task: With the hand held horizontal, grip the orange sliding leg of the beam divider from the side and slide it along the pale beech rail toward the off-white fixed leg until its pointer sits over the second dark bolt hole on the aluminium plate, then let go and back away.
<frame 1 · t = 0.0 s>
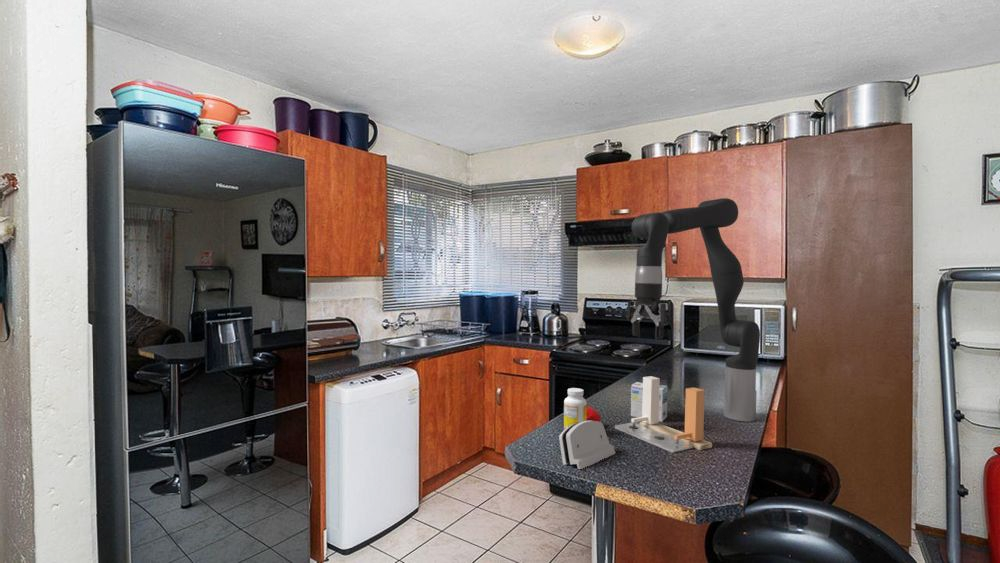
hand: (646, 337, 133), 29 cm above the countertop, tool pointing down, fingers open, 8 cm apart
cap: (588, 426, 143), on the countertop
sliding leg: (687, 415, 127), point 8 cm above the countertop, slide at 0.0 cm
light bulb box: (648, 417, 154), on the countertop
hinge: (585, 458, 118), on the countertop
rail: (673, 436, 135), on the countertop
fixed leg: (649, 427, 143), resting on bolt plate
bolt plate: (651, 437, 133), on the countertop
supplement bottle: (574, 433, 136), on the countertop
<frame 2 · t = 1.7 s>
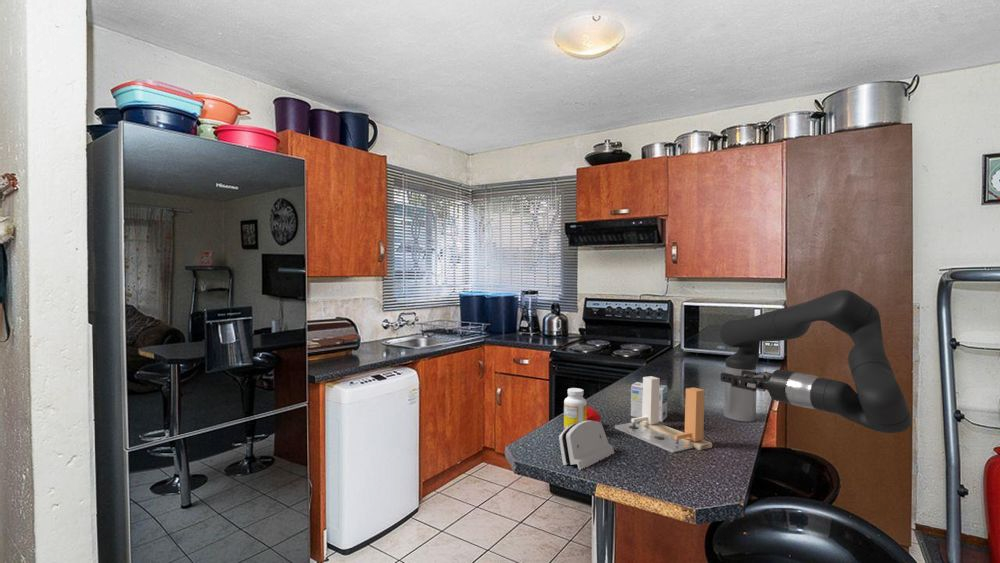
hand: (731, 375, 119), 22 cm above the countertop, tool horizontal, fingers open, 8 cm apart
nothing on the countertop moved.
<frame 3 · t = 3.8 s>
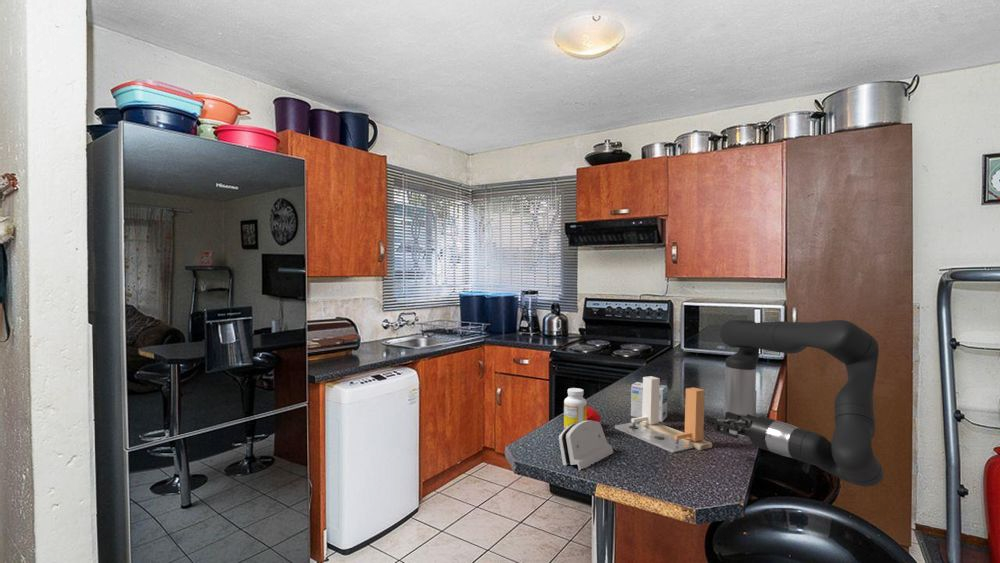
hand: (715, 417, 123), 9 cm above the countertop, tool horizontal, fingers open, 8 cm apart
nothing on the countertop moved.
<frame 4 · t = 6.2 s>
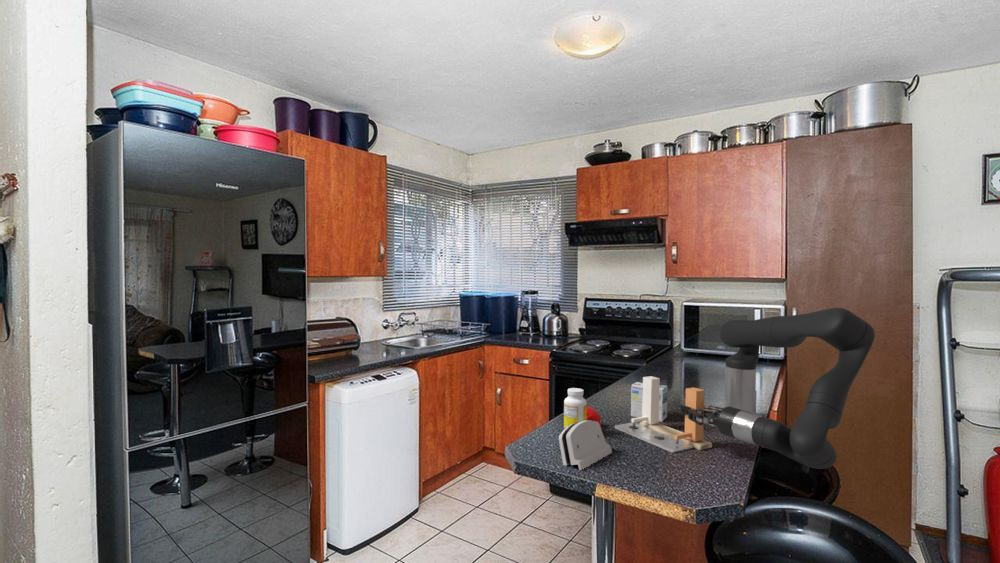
hand: (686, 407, 131), 9 cm above the countertop, tool horizontal, fingers closed on sliding leg, 3 cm apart
sliding leg: (687, 415, 127), point 8 cm above the countertop, slide at 0.0 cm, touching gripper
everything else where it was.
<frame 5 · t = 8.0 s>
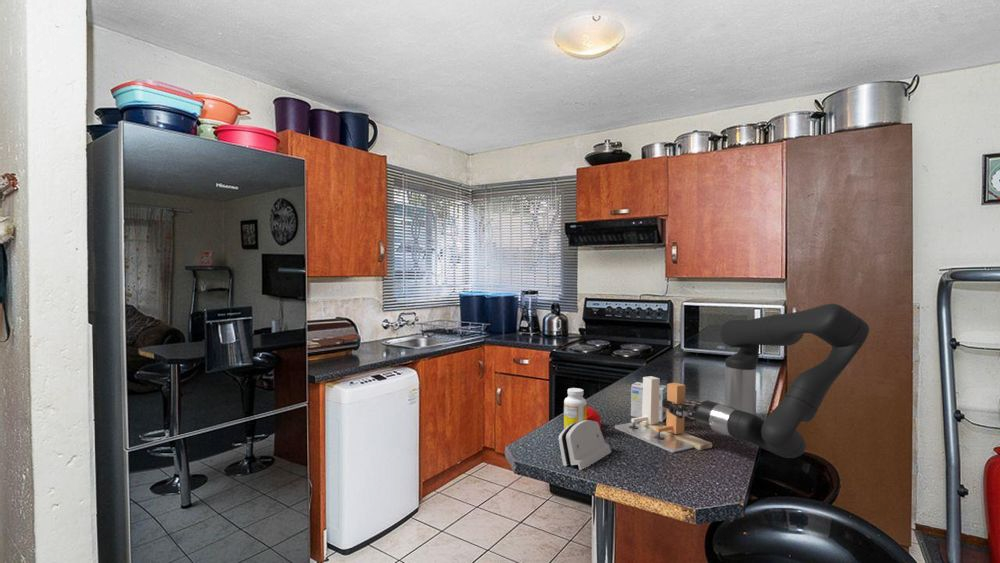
hand: (668, 402, 137), 9 cm above the countertop, tool horizontal, fingers closed on sliding leg, 3 cm apart
sliding leg: (668, 409, 133), point 8 cm above the countertop, slide at 6.5 cm, touching gripper
everything else where it was.
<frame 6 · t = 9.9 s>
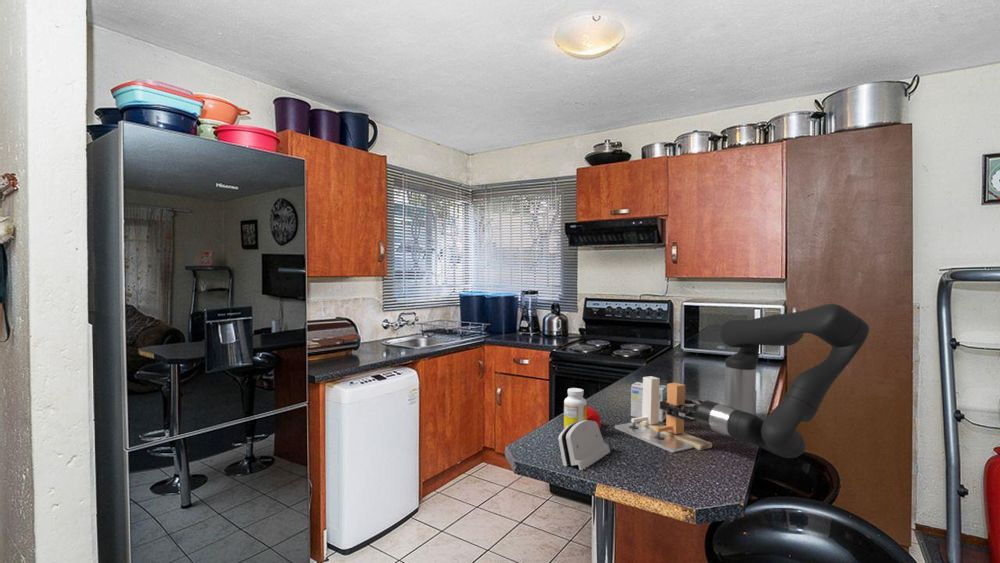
hand: (670, 403, 136), 10 cm above the countertop, tool horizontal, fingers open, 8 cm apart
sliding leg: (668, 409, 133), point 8 cm above the countertop, slide at 6.5 cm
everything else where it was.
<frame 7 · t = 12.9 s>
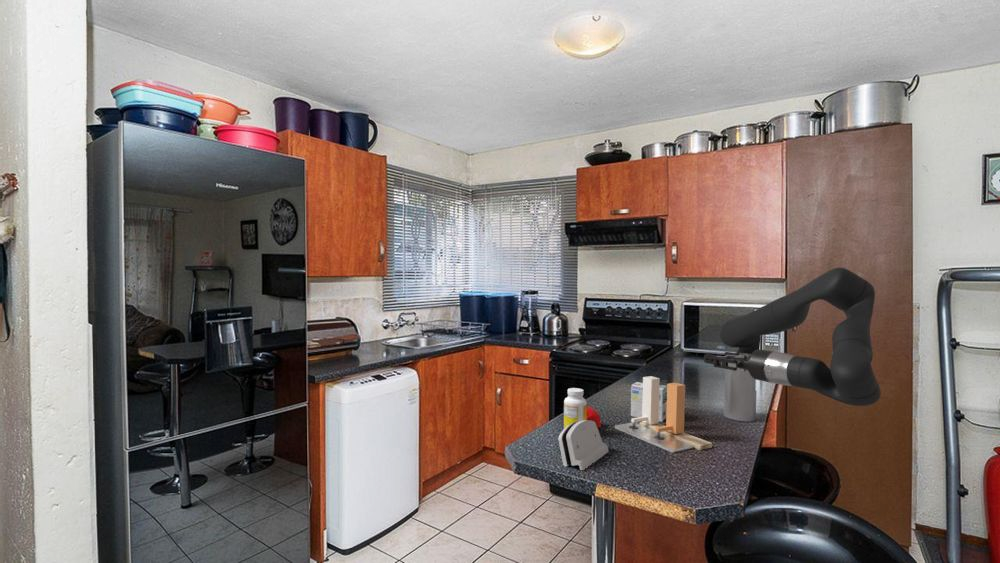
hand: (715, 356, 124), 26 cm above the countertop, tool horizontal, fingers open, 8 cm apart
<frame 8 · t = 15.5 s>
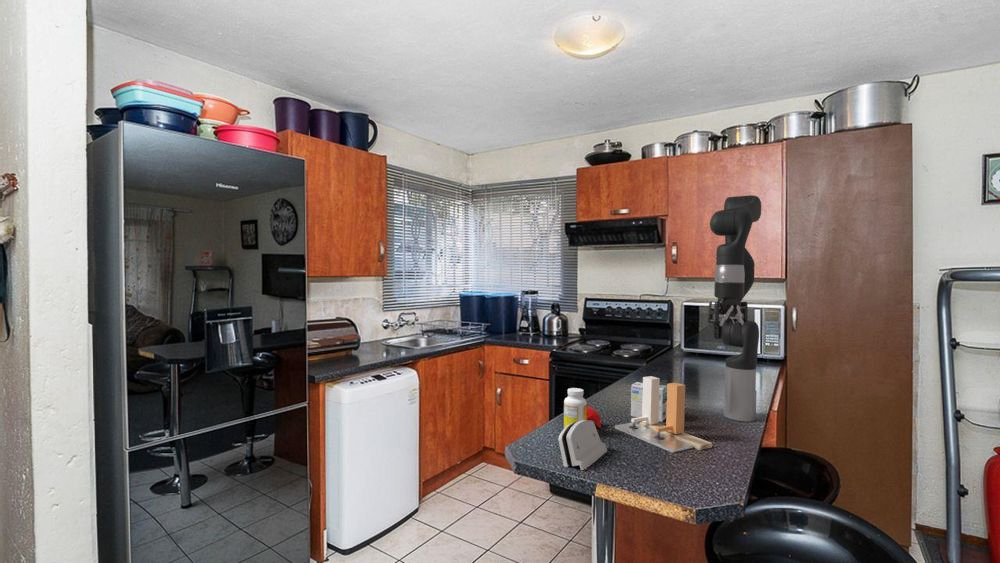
hand: (727, 338, 129), 30 cm above the countertop, tool pointing down, fingers open, 8 cm apart
at the end: sliding leg slide at 6.5 cm; the gripper is holding nothing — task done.
